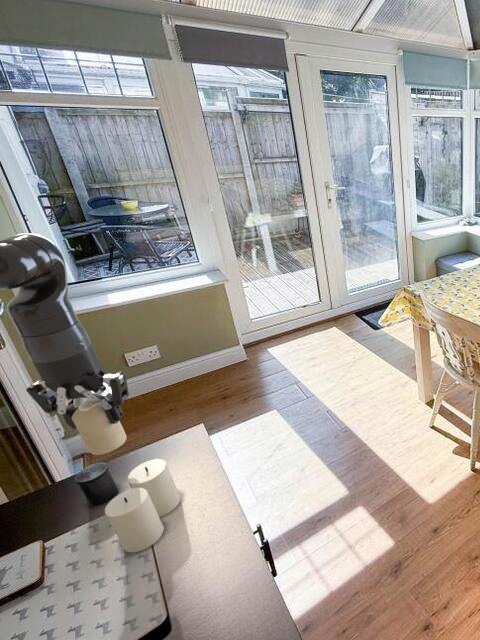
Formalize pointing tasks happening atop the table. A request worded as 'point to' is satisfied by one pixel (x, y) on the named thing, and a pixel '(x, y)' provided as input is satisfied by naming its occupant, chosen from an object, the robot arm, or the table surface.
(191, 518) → the table surface
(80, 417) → the candle
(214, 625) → the table surface
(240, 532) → the table surface
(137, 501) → the candle
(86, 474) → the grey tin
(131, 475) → the candle
